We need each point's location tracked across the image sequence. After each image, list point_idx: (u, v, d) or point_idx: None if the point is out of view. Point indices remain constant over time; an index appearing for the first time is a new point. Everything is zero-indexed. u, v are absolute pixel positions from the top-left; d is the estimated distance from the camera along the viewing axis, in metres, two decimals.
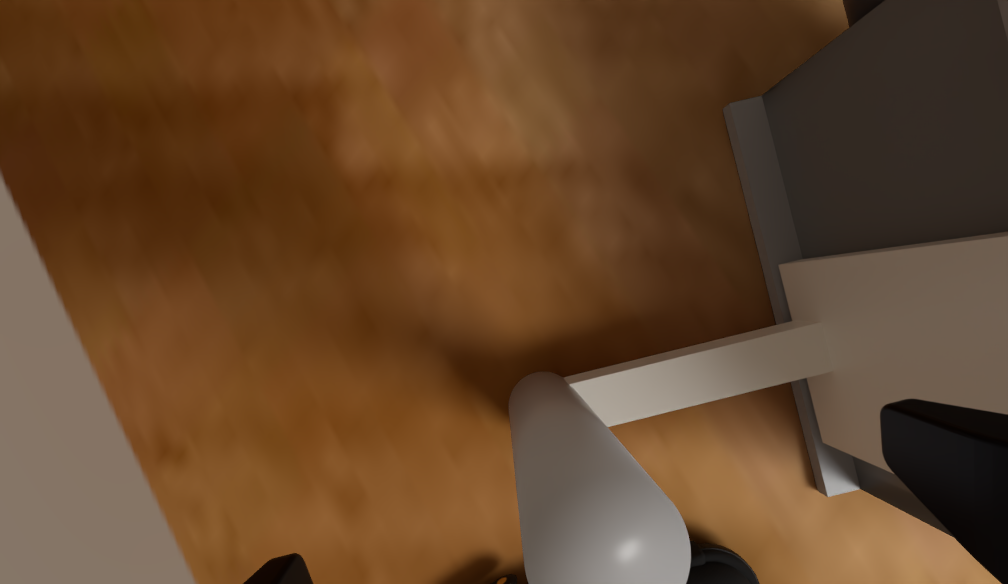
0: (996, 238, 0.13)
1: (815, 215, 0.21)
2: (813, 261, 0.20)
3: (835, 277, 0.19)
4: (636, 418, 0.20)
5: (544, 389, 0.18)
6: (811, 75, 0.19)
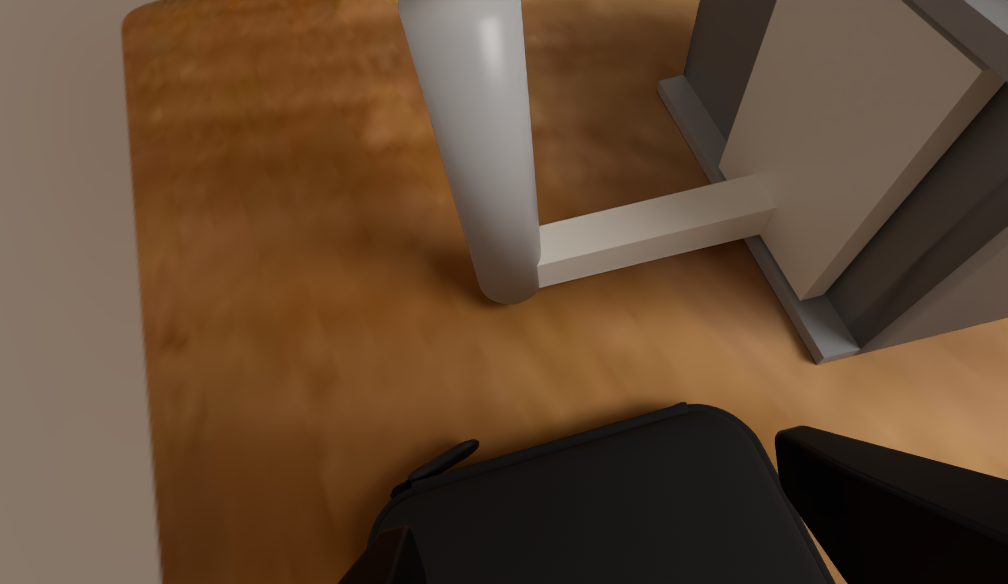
0: None
1: None
2: (732, 128, 0.23)
3: (745, 120, 0.22)
4: (589, 251, 0.21)
5: None
6: (700, 26, 0.26)
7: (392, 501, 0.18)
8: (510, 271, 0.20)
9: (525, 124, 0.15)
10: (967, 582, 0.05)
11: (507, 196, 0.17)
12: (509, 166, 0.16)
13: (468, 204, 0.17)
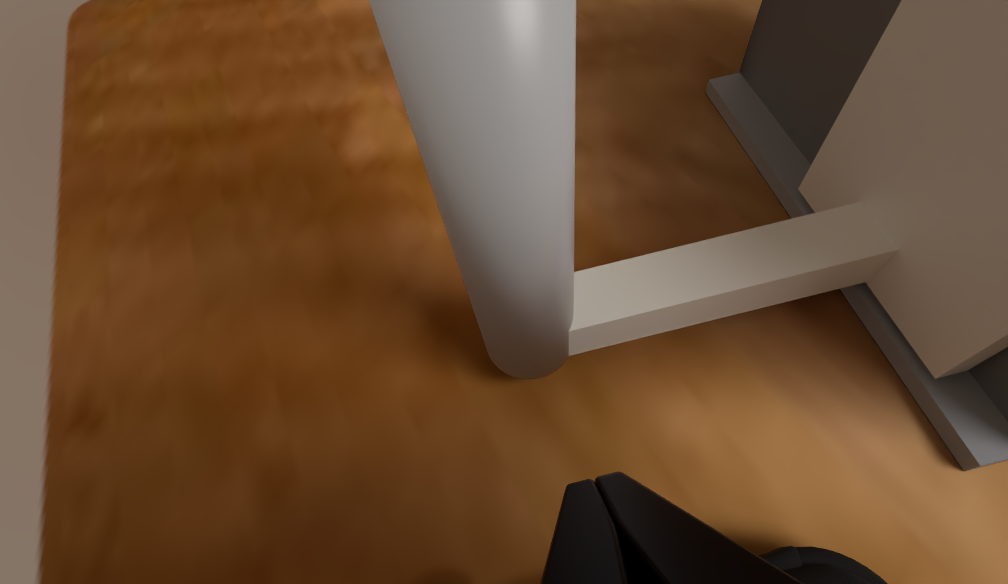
0: None
1: (820, 125, 0.19)
2: (825, 140, 0.17)
3: (851, 129, 0.16)
4: (641, 311, 0.15)
5: None
6: (769, 8, 0.21)
7: None
8: (533, 343, 0.14)
9: (569, 138, 0.09)
10: None
11: (535, 249, 0.11)
12: (541, 205, 0.10)
13: (475, 259, 0.11)
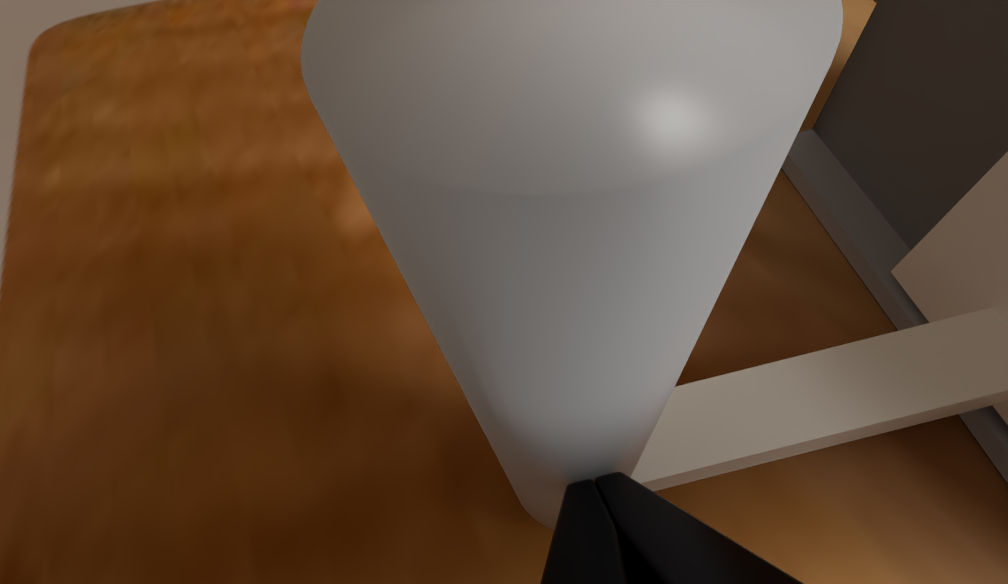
0: None
1: (934, 213, 0.15)
2: (939, 223, 0.14)
3: (983, 217, 0.13)
4: (719, 460, 0.12)
5: None
6: (863, 60, 0.17)
7: None
8: None
9: None
10: None
11: (613, 466, 0.07)
12: (636, 433, 0.06)
13: (520, 467, 0.08)
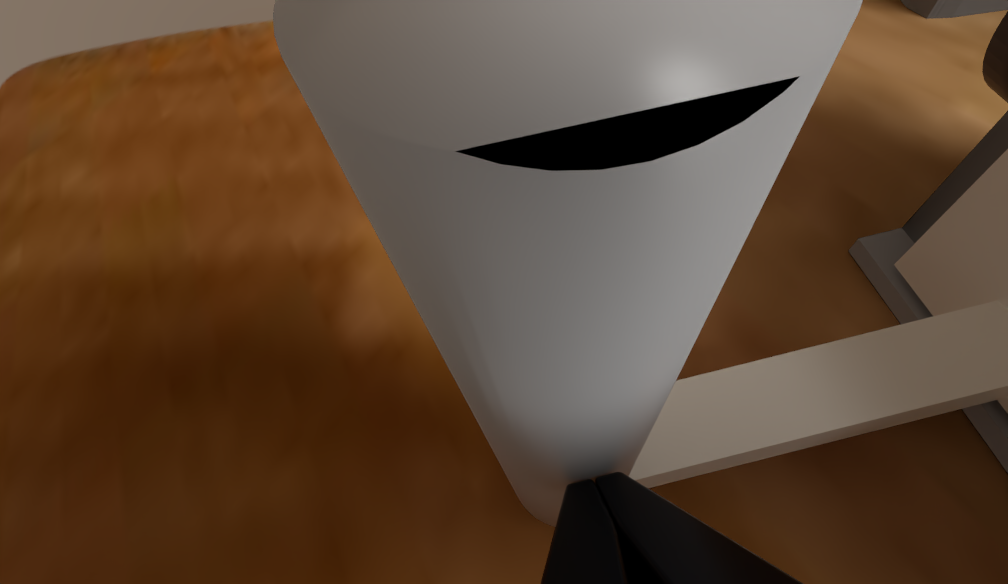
0: None
1: None
2: (944, 215, 0.14)
3: (990, 208, 0.12)
4: (720, 455, 0.12)
5: None
6: (985, 168, 0.14)
7: None
8: None
9: None
10: None
11: (612, 461, 0.07)
12: (636, 427, 0.06)
13: (517, 463, 0.07)
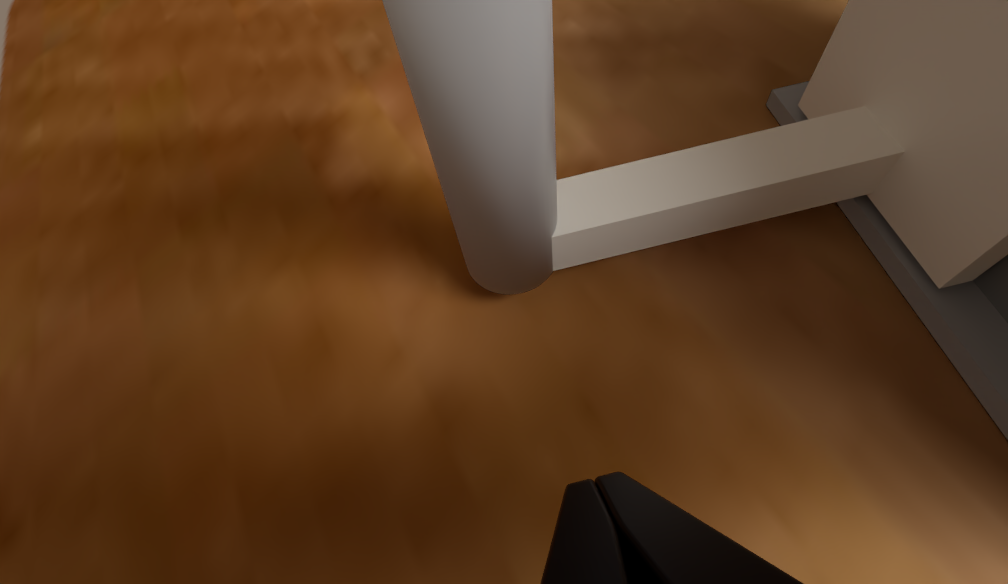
0: None
1: None
2: (828, 43, 0.16)
3: (856, 25, 0.15)
4: (629, 216, 0.14)
5: None
6: None
7: None
8: (512, 244, 0.13)
9: None
10: None
11: (508, 107, 0.10)
12: (512, 43, 0.09)
13: (443, 124, 0.10)
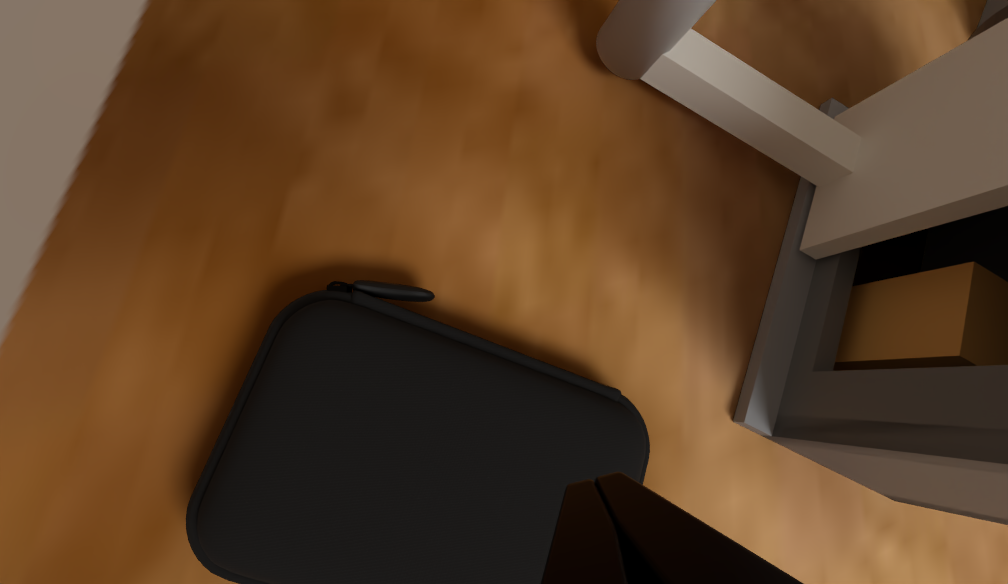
0: None
1: None
2: (881, 90, 0.24)
3: (901, 89, 0.23)
4: (707, 80, 0.22)
5: None
6: None
7: (327, 293, 0.17)
8: (645, 35, 0.20)
9: None
10: None
11: None
12: None
13: None
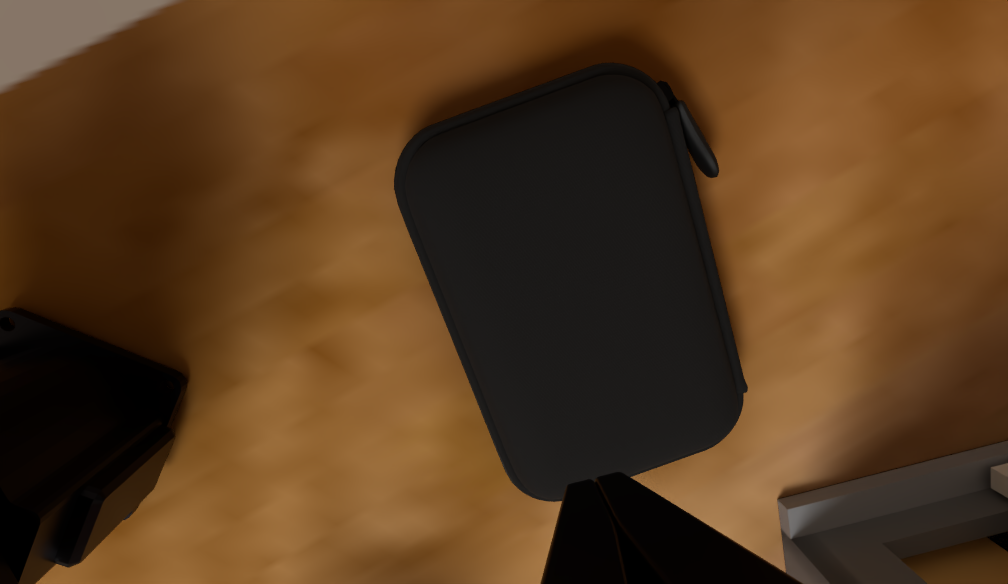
0: None
1: None
2: None
3: None
4: None
5: None
6: None
7: (656, 86, 0.16)
8: None
9: None
10: None
11: None
12: None
13: None
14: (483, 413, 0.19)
